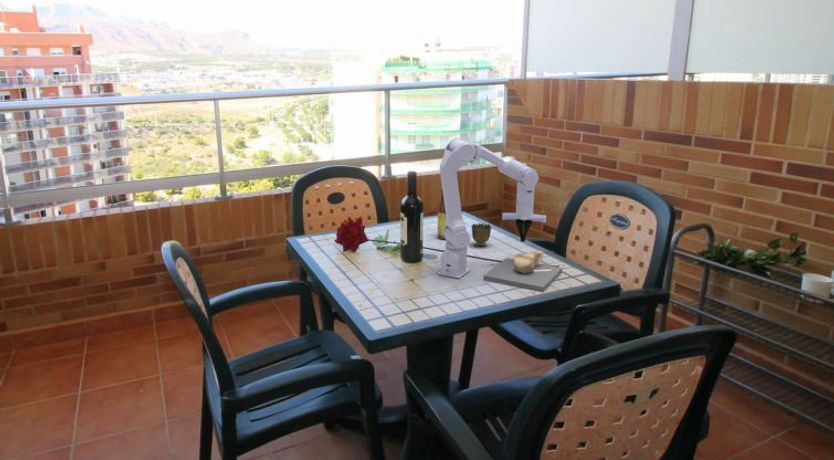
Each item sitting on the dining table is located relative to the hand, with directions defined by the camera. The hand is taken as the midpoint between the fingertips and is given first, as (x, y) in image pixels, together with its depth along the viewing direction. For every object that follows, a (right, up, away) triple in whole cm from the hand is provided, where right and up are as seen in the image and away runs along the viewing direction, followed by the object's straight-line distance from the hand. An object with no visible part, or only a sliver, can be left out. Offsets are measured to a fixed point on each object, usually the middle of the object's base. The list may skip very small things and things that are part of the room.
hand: (522, 240), depth 210 cm
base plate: (-1, -11, -7) cm, 14 cm away
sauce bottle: (-25, 0, +32) cm, 41 cm away
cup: (-12, -2, +23) cm, 26 cm away
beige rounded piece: (+1, -8, -6) cm, 10 cm away
